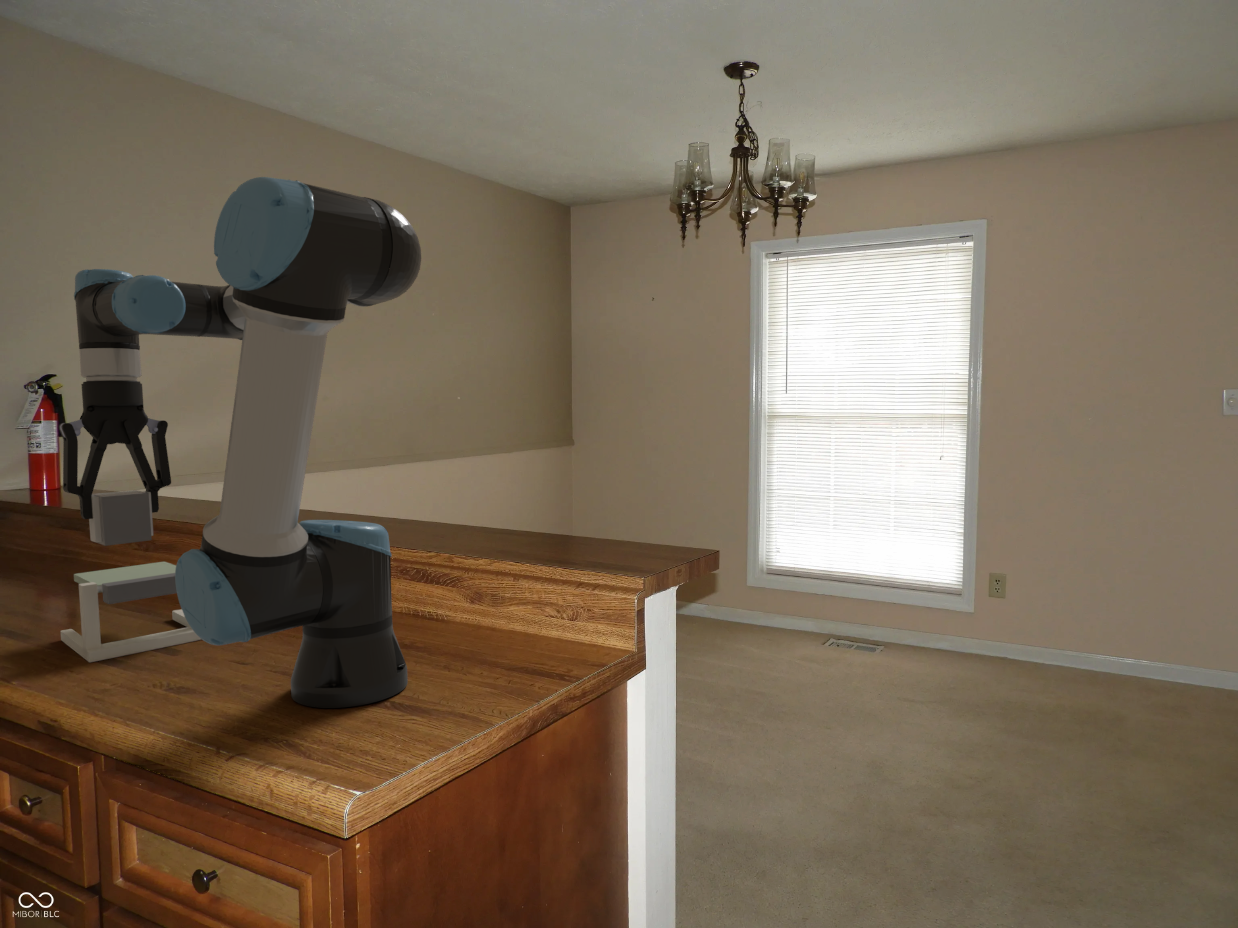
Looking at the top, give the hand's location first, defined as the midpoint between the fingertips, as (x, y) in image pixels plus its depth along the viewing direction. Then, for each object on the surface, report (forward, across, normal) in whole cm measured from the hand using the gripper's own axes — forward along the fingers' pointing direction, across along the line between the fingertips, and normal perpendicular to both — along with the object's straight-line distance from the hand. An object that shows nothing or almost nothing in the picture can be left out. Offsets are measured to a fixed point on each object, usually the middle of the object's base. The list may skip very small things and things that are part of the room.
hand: (122, 537), depth 121 cm
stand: (+19, -6, -17) cm, 26 cm away
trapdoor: (+11, -6, -16) cm, 21 cm away
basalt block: (0, 0, 0) cm, 1 cm away
